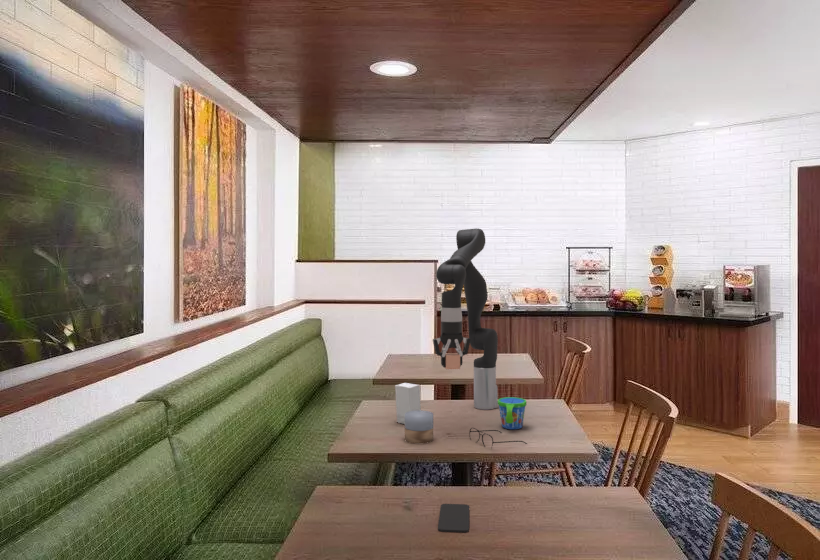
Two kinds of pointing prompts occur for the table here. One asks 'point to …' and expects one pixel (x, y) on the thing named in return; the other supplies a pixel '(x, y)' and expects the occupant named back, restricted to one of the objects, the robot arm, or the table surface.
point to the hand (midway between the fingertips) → (451, 366)
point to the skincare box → (406, 400)
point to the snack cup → (512, 412)
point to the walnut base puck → (418, 436)
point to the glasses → (490, 436)
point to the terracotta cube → (452, 361)
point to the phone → (454, 518)
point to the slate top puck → (418, 420)
